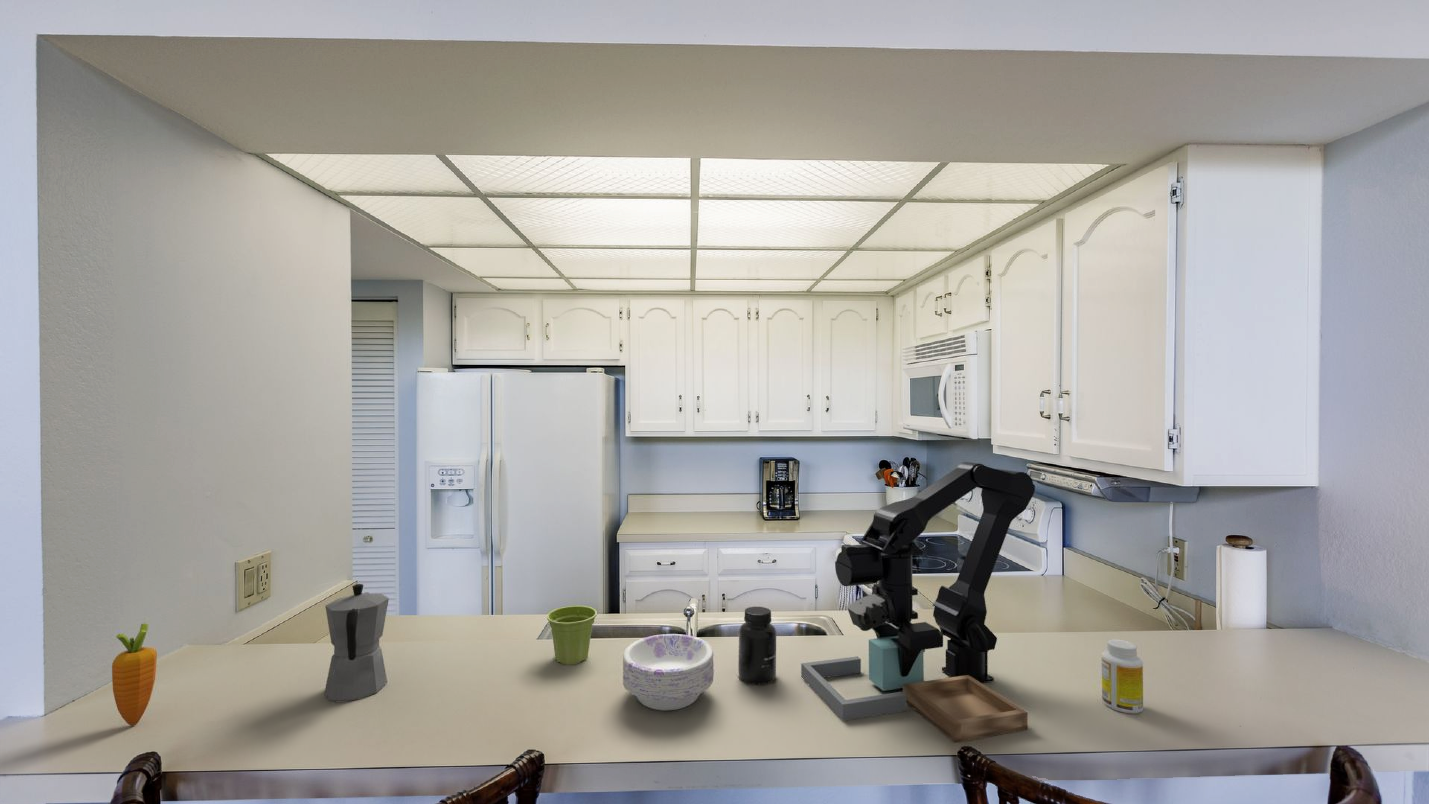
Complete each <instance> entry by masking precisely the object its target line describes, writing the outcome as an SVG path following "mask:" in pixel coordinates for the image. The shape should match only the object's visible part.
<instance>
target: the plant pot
mask: <svg viewBox="0 0 1429 804" xmlns="http://www.w3.org/2000/svg"><path fill="white" fill-rule="evenodd" d="M597 615H598V611H597V610H596V608H593V607H591V606H586V605H569V606H565V607H563V606H562V607H558V608H555V609H553V610H551V611H550V612H549V613H547V615H546V620H547V621H548V622H549V627H550V628H551V634H552V640H553V641H552V643H553V649H554V650H553V652H554V657H555V661H556V662H557V663H561V664H562V665H566V666H568V665H577V664H580V663H581V662H582V661H586V660H587V659H588V657H589V651H590V643H591V636H592V630H593V626H594V623H595V619H596V617H597Z"/></svg>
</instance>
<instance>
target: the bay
mask: <svg viewBox="0 0 1429 804" xmlns="http://www.w3.org/2000/svg"><path fill="white" fill-rule="evenodd" d="M800 665H801V666H800V669H801V670H800V674H801V675H800V677H802V678H803V679H804V680H805V681H806V682H807V683H806V682H805V681H804V680H803V679H802V678H801V679H802V680H803V681H804V682H805V683H806V684H807V685H808V684H809V685H808V686H809V687H810V688H811V689H812V690H813V691H814V693H816V694H817V696H819V698H820V699H821V700H822V701H823V702H824V703H825V704H826V705H827V706H828V707H829V708H830V710H832V711H833V712H834V713H835V715H836V716H838V718H839V719H840V720H841V721H842V722H843V721H851V720H857V719H861V718H863V719H864V718H869V717H875V716H882V715H887V714H893V713H899V712H906V711H907V703H906V694H904V693H903V691H898V692H891V693H890V692H888V693H883V694H877V695H876V694H875V695H871V696H864V697H857V698H855V697H854V698H851V699H850V698H849V699H846V698H844V697H843V696H842V695H841V694H840V693H839V691H837V690H836V689H835V688H834V687H833V686H832V685H831V684H830V683H829V681H827V680H826V679H825V678H829V677H828V676H832V677H838V676H845V675H846V676H847V675H853V674H852V673H854V674H860V673H862V659H861V658H860V657H859V656H856V655H855V656H850V657H840V658H835V659H825V660H819V661H809V662H803V663H802V662H801V664H800ZM823 677H825V678H823Z"/></svg>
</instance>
